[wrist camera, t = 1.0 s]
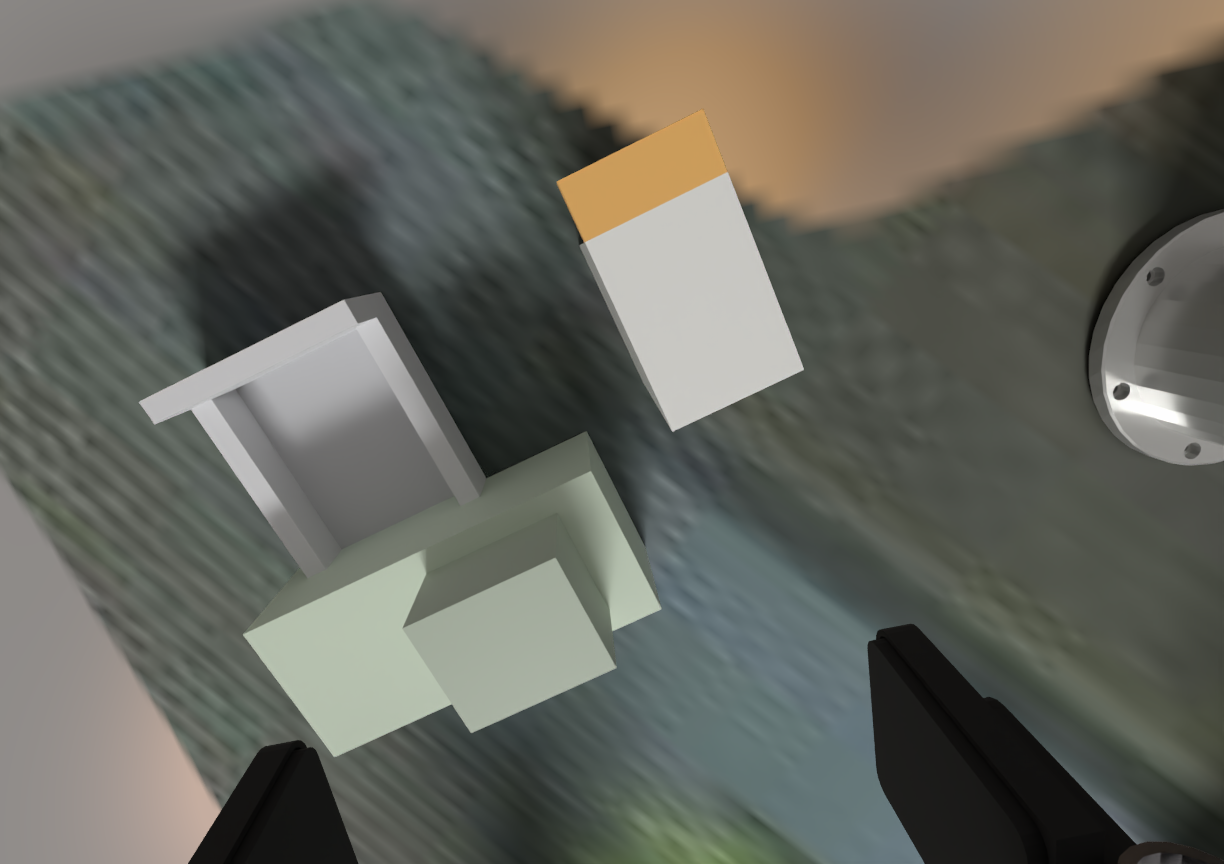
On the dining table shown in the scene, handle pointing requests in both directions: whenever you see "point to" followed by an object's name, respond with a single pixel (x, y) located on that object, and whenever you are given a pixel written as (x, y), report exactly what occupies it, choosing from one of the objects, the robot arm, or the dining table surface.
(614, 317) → the orange-topped white box
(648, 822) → the dining table surface
